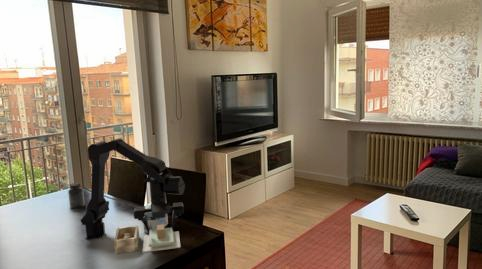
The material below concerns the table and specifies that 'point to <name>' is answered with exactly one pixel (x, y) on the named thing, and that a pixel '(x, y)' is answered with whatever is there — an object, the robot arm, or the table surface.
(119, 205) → the table surface
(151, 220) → the light bulb box
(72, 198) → the supplement bottle
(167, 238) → the lid
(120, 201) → the table surface
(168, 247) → the felt mat
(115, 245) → the crate
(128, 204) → the table surface
